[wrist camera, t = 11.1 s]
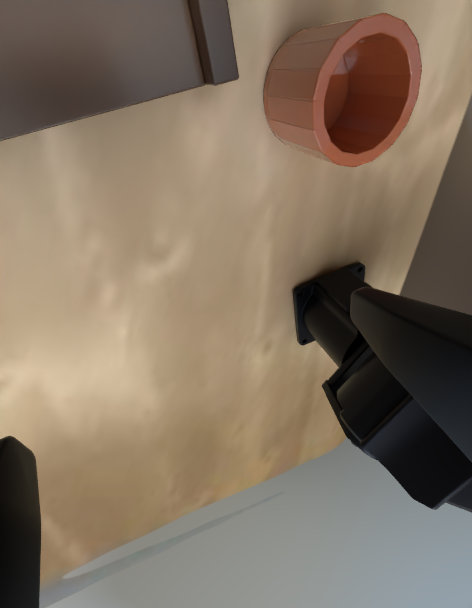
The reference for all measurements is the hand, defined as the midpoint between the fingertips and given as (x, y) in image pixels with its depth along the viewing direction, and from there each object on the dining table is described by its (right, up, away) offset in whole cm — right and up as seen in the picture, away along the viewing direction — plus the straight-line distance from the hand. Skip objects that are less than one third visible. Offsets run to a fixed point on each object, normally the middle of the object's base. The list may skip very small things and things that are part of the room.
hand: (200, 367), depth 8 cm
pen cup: (+5, +13, +10) cm, 17 cm away
